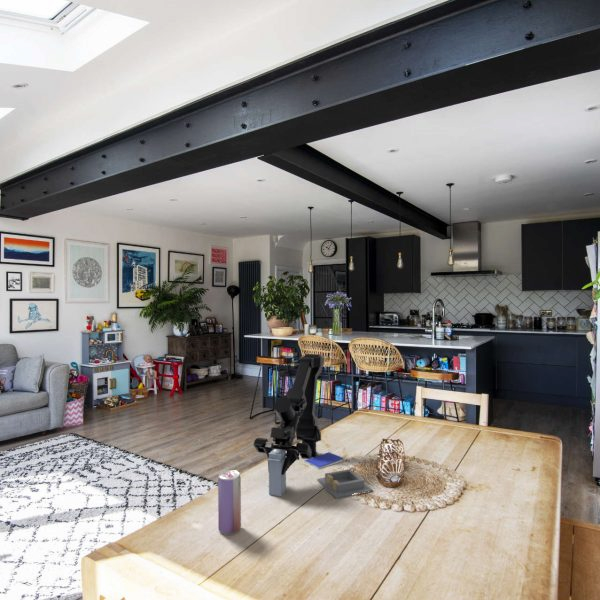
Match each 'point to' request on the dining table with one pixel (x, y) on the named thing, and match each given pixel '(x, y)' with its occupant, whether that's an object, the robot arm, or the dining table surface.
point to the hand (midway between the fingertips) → (275, 473)
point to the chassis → (343, 483)
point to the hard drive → (323, 460)
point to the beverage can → (229, 502)
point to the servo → (277, 472)
